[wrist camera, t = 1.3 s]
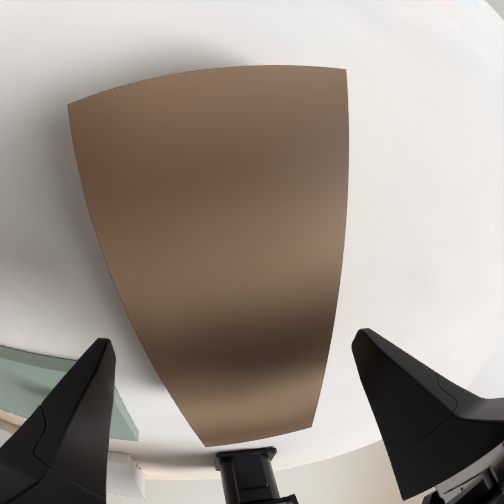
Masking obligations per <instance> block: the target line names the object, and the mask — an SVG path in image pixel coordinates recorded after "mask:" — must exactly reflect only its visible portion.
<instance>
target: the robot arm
mask: <svg viewBox="0 0 504 504" xmlns="http://www.w3.org/2000/svg"><path fill="white" fill-rule="evenodd" d="M352 352H353V355H354V359H355V362H356V366H357V369H358V373H359V376H360V380H361V383H362V385H363V388H364V390H365V393H366V396H367V398H368V401H369V403H370V406H371V409H372V411H373V414H374V417H375V419H376V422H377V425H378V427H379V430H380V433H381V436H382V439H383V441H384V444H385V447H386V450H387V453H388V456H389V459H390V462H391V465H392V468H393V471H394V474H395V477H396V480H397V484H398V487H399V490H400V494H401V497H402V499H403V501H404V500H407V499H409V498H411V497H414V496H416V495H418V494H420V493H422V492H424V491H426V490H428V489H430V488H432V487H434V486H435V488H436V489H435V490H434V491H432V492H431V493H429V494H428V495H426V496H425V497H424V499H423V502H422V504H504V398H495V399H485V398H481V397H479V396H477V395H475V394H473V393H471V392H469V391H467V390H465V389H463V388H462V387H460V386H458V385H456V384H454V383H453V382H451V381H449V380H448V379H446V378H444V377H443V376H441V375H440V374H438V373H437V372H435V371H434V370H432V369H431V368H429V367H428V366H426V365H425V364H423V363H421V362H420V361H418V360H417V359H415V358H414V357H412V356H411V355H409V354H408V353H406V352H405V351H403V350H402V349H400V348H399V347H397V346H396V345H394V344H392V343H391V342H389V341H388V340H386V339H385V338H383V337H382V336H380V335H379V334H377V333H376V332H374V331H373V330H371V329H369V328H364V329H359V330H358V332H357V334H356V336H355V338H354V340H353V342H352ZM115 364H116V356H115V352H114V350H113V347H112V344H111V341H110V339H108V338H98V339H97V340H96V341H95V342H94V343H93V344H92V345H91V346H90V347H89V348H88V349H87V351H86V352H85V353H84V354H83V355H82V356H81V357H80V358H79V359H78V361H77V362H76V363H75V364H74V365H73V366H72V367H71V368H70V370H69V371H68V372H67V373H66V374H65V375H64V376H63V378H62V379H61V380H60V381H59V382H58V383H57V385H56V386H55V387H54V388H53V389H52V390H51V392H50V393H49V394H48V395H47V396H46V398H45V399H44V400H43V401H42V402H41V405H39V406H38V407H37V408H36V410H35V411H34V412H33V413H32V414H31V416H30V417H29V418H28V419H27V420H26V421H25V422H24V424H23V425H22V426H21V427H20V428H19V429H18V430H17V431H16V432H15V433H14V434H13V435H12V436H11V437H10V438H9V439H8V440H7V441H6V442H5V443H4V444H3V445H2V446H1V447H0V504H106V478H107V459H108V446H109V435H110V425H111V417H112V409H113V401H114V382H115ZM276 452H277V450H276V448H269V449H262V450H254V451H245V452H235V453H222V454H216V456H215V469H216V471H220V472H221V478H222V483H223V489H224V495H225V500H226V504H298V501H297V499H296V496H295V494H292V495H289V496H287V497H282V498H280V496H279V492H278V489H277V485H276V481H275V478H274V474H273V470H272V466H271V460H272V459H273V457H274V455H275V454H276Z"/></svg>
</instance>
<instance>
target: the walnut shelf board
mask: <svg viewBox="0 0 504 504" xmlns="http://www.w3.org/2000/svg"><path fill="white" fill-rule="evenodd" d="M68 112H69V119H70V126H71V133H72V139H73V144H74V150H75V155H76V160H77V165H78V169H79V174H80V178H81V182H82V186H83V190H84V194H85V198H86V202H87V205H88V209H89V212H90V216H91V219H92V222H93V226H94V229H95V232H96V235H97V238H98V241H99V244H100V247H101V250H102V253H103V256H104V258H105V261H106V264H107V266H108V269H109V272H110V274H111V277H112V279H113V282H114V284H115V287H116V289H117V292H118V294H119V296H120V299H121V301H122V303H123V306H124V308H125V310H126V312H127V315H128V317H129V319H130V321H131V323H132V325H133V327H134V329H135V331H136V334H137V336H138V338H139V340H140V342H141V344H142V345H143V347H144V349H145V351H146V353H147V355H148V357H149V359H150V361H151V363H152V364H153V366H154V368H155V370H156V372H157V373H158V375H159V377H160V379H161V380H162V382H163V384H164V385H165V387H166V389H167V390H168V392H169V394H170V395H171V397H172V399H173V400H174V402H175V403H176V405H177V406H178V408H179V410H180V411H181V413H182V414H183V416H184V417H185V419H186V420H187V422H188V423H189V425H190V426H191V427H192V429H193V430H194V432H195V433H196V435H197V436H198V437H199V439H200V440H201V441H202V443H203V444H204V446H205V447H212V446H220V445H228V444H235V443H242V442H248V441H254V440H259V439H264V438H269V437H274V436H278V435H283V434H287V433H291V432H295V431H299V430H303V429H306V428H310V427H312V423H313V420H314V416H315V412H316V408H317V404H318V400H319V396H320V391H321V387H322V383H323V378H324V373H325V369H326V364H327V359H328V354H329V349H330V343H331V338H332V332H333V326H334V320H335V314H336V307H337V300H338V293H339V286H340V278H341V270H342V261H343V251H344V240H345V228H346V215H347V197H348V172H349V116H348V91H347V75H346V69H338V68H328V67H314V66H293V65H261V66H239V67H226V68H216V69H207V70H199V71H192V72H185V73H179V74H173V75H168V76H163V77H158V78H153V79H149V80H144V81H140V82H136V83H132V84H128V85H125V86H121V87H117V88H114V89H111V90H107V91H104V92H101V93H98V94H95V95H92V96H89V97H86V98H83V99H81V100H78V101H75V102H73V103H70V104H68Z"/></svg>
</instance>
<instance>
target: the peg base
mask: <svg viewBox="0 0 504 504" xmlns="http://www.w3.org/2000/svg"><path fill="white" fill-rule="evenodd" d="M76 362H77V361H74V360H67V359H61V358H55V357H49V356H43V355H38V354H33V353H28V352H24V351H19V350H15V349H11V348H7V347H3V346H0V409H2V410H5V411H7V412H10V413H12V414H15V415H18V416H21V417H24V418H27V419H28V418H29V417H30V416H31V414H32V413H33V412H34V411H35V410H36V408H37V407H38V406H39V405H41V402H42V401H43V400H44V399H45V398H46V396H47V395H48V394H49V393H50V392H51V390H52V389H53V388H54V387H55V386H56V385H57V383H58V382H59V381H60V380H61V379H62V378H63V376H64V375H65V374H66V373H67V372H68V371H69V370H70V368H71V367H72V366H73V365H74V364H75V363H76ZM109 438H114V439H121V440H130V441H138V430H137V428H136V426H135V425H134V423H133V421H132V419H131V417H130V415H129V413H128V412H127V410H126V408H125V406H124V404H123V402H122V400H121V398H120V396H119V394H118V391H117V389H116V387H115V385H114V401H113V409H112V417H111V425H110V435H109Z"/></svg>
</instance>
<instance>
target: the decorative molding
mask: <svg viewBox="0 0 504 504" xmlns="http://www.w3.org/2000/svg"><path fill="white" fill-rule="evenodd" d="M19 428H20V427H17V426H15V425H12V424H10V423H7V422H5V421H3V420H0V447H1V446H2V445H3V444H4V443H5V442H6V441H7V440H8V439H9V438H10V437H11V436H12V435H13V434H14V433H15V432H16V431H17V430H18V429H19ZM106 493H109V494H114V495H120V496H126V497H134V498H142V499H145V473H144V472H143V471H142V470H141V469H139V468H138V465H136V462H135V461H134V460H133V458H131V456H130V454H124V453H117V452H110V451H108V459H107V478H106Z"/></svg>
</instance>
